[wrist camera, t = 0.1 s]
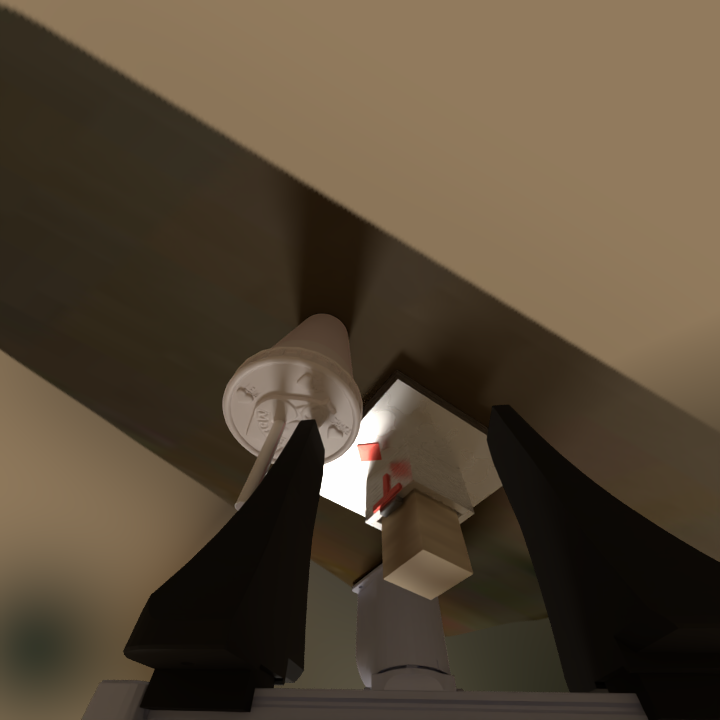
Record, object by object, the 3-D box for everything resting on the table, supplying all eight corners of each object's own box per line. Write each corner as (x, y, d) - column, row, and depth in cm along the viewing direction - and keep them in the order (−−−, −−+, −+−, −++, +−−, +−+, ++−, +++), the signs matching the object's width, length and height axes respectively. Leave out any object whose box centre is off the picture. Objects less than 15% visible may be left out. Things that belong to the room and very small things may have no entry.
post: (416, 499, 27) (431, 601, 20) (378, 480, 26) (380, 579, 19) (447, 473, 26) (475, 573, 18) (408, 451, 25) (423, 548, 18)
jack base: (420, 530, 32) (430, 594, 26) (307, 473, 28) (291, 533, 23) (523, 450, 26) (561, 511, 21) (396, 369, 23) (403, 416, 18)
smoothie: (264, 313, 21) (111, 458, 9) (346, 280, 20) (301, 395, 8) (304, 384, 24) (229, 575, 11) (379, 359, 23) (386, 543, 10)
